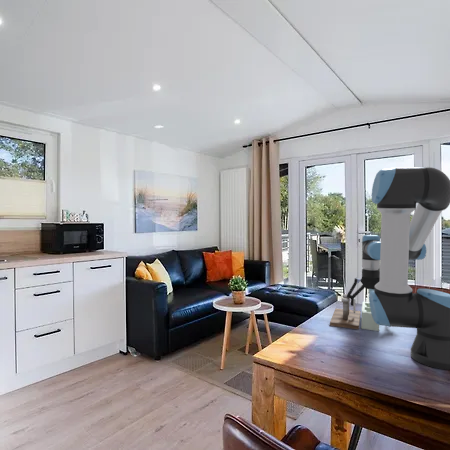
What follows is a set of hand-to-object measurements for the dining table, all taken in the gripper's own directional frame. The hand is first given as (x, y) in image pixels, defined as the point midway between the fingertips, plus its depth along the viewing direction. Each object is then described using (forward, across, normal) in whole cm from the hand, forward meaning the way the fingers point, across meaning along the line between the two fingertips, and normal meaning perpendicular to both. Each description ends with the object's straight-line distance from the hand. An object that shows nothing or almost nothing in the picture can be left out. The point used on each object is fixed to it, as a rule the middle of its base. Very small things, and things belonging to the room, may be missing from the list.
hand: (370, 314), depth 148 cm
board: (+4, +10, 0) cm, 11 cm away
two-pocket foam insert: (+4, 0, 0) cm, 4 cm away
